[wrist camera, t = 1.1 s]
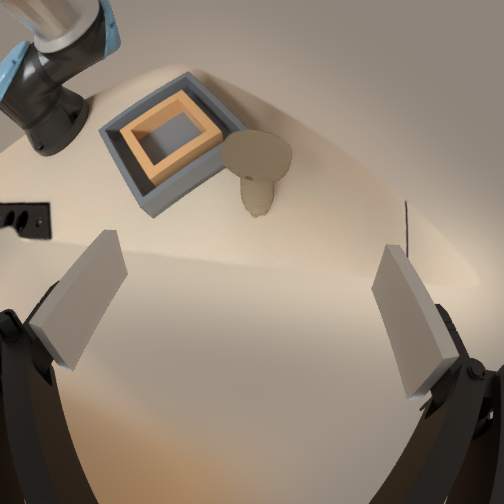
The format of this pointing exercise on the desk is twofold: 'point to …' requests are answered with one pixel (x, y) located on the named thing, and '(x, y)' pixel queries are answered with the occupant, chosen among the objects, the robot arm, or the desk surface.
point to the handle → (256, 166)
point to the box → (170, 142)
